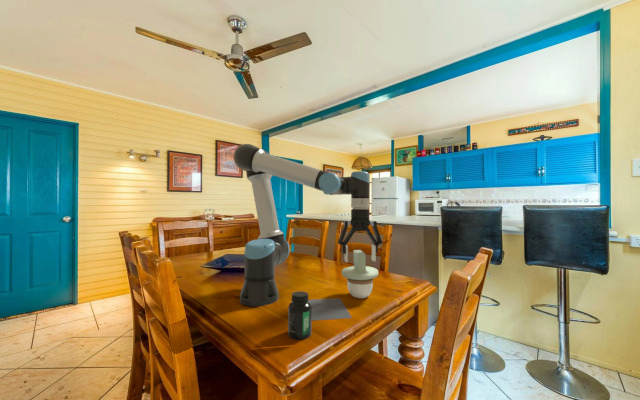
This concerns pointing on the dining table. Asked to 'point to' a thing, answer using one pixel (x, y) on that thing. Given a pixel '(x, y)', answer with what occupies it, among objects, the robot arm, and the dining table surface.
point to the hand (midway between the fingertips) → (360, 261)
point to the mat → (328, 309)
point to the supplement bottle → (299, 316)
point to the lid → (359, 268)
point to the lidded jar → (360, 287)
